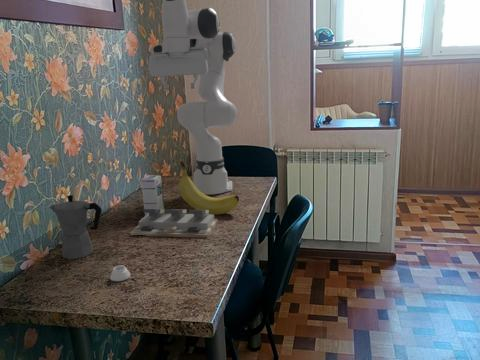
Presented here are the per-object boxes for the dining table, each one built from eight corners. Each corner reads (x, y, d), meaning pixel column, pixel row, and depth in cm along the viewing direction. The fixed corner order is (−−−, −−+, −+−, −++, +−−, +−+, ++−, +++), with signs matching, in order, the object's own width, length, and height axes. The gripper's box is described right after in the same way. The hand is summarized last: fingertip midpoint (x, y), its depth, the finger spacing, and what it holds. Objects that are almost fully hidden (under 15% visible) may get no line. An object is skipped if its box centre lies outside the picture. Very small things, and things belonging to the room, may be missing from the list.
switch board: (147, 220, 157) (147, 214, 156) (217, 221, 152) (217, 216, 152) (130, 235, 142) (129, 229, 142) (207, 237, 138) (207, 231, 137)
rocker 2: (174, 216, 153) (174, 209, 153) (186, 216, 152) (186, 209, 152) (165, 217, 144) (165, 209, 144) (178, 217, 143) (178, 209, 143)
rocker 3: (196, 217, 151) (196, 209, 152) (208, 217, 151) (208, 210, 151) (188, 217, 143) (189, 209, 143) (201, 217, 142) (201, 210, 142)
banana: (241, 211, 162) (239, 159, 157) (238, 217, 156) (235, 162, 152) (184, 210, 167) (180, 159, 162) (178, 214, 161) (174, 162, 156)
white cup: (131, 273, 116) (112, 274, 115) (130, 263, 115) (111, 264, 115) (128, 282, 111) (108, 283, 111) (127, 271, 110) (107, 272, 110)
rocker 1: (152, 216, 154) (153, 209, 154) (164, 216, 153) (164, 209, 154) (142, 216, 145) (143, 209, 146) (155, 216, 145) (155, 209, 145)
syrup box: (159, 216, 160) (155, 178, 157) (144, 216, 161) (140, 178, 158) (164, 211, 166) (161, 174, 162) (150, 211, 167) (146, 174, 163)
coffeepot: (48, 259, 126) (39, 200, 122) (64, 246, 135) (56, 191, 131) (100, 259, 125) (92, 199, 120) (112, 246, 134) (105, 190, 129)
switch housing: (149, 218, 155) (148, 213, 155) (214, 219, 151) (213, 214, 151) (139, 227, 147) (138, 221, 146) (207, 229, 143) (207, 223, 142)
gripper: (208, 46, 149) (210, 87, 153) (150, 49, 151) (154, 89, 154) (206, 45, 143) (208, 88, 147) (145, 48, 145) (149, 90, 148)
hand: (179, 89), depth 151 cm, fingers open, 8 cm apart
